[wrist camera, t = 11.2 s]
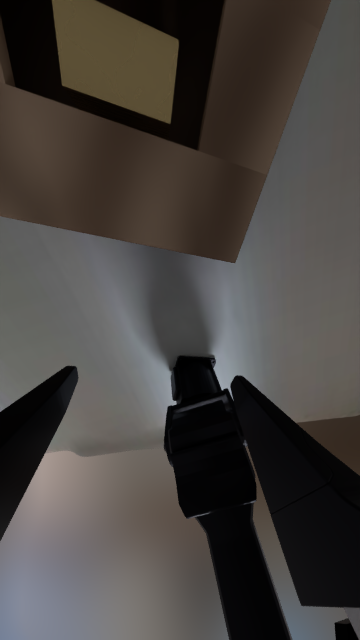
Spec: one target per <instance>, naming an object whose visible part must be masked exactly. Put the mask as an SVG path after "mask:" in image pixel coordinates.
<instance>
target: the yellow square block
mask: <svg viewBox="0 0 360 640" xmlns="http://www.w3.org/2000/svg"><path fill="white" fill-rule="evenodd" d="M52 5H53V13H54V22H55V30H56V38H57V47H58V55H59V63H60V71H61V80H62V86H63V87H64V89H65V90H66V92H67V93H68V95H69V96H70V97H71V99H72V100H73V102H74V103H75V105H76V106H77V108H78V109H79V110H82V111H85V112H88V113H90V114H93V115H96V116H99V117H102V118H105V119H108V120H111V121H113V122H116V123H119V124H122V125H125V126H128V127H131V128H134V129H136V130H139V131H142V132H145V133H148V134H151V135H154V136H157V137H159V138H162V139H165V140H168V139H169V131H170V123H171V114H172V104H173V95H174V86H175V76H176V67H177V57H178V48H179V40H178V39H176V38H174V37H172V36H170V35H167V34H165V33H163V32H161V31H159V30H157V29H155V28H153V27H151V26H148V25H146V24H144V23H142V22H140V21H138V20H136V19H134V18H131V17H129V16H127V15H125V14H123V13H121V12H119V11H117V10H115V9H112V8H110V7H108V6H106V5H104V4H102V3H100V2H98V1H96V0H52Z"/></svg>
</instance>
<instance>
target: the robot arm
mask: <svg viewBox="0 0 360 640" xmlns="http://www.w3.org/2000/svg"><path fill="white" fill-rule="evenodd" d="M180 359H181V360H180ZM215 364H216V360H215V358H203V357H186V356H180V357H178V358H177V362H176V366H175V367H174V368H173V371H172V375H171V387H172V398H173V400H174V401H176V402H177V405H174V406H172V405H171V406H168V409H167V415H166V425H165V436H164V450H165V451H166V453H167V456H168V460H169V462H170V465H171V466H172V467H173V468H174V473H175V478H176V484H177V493H178V501H179V505H180V507H181V509H182V511H183V513H184V515H185V517H186V518H187V519H189V518H193V517H195V518H196V520H197V521H198V522H199V524H200V525H201V527H202V528H203V530H204V531H205V533H206V535H207V539H208V544H209V548H210V553H211V557H212V562H213V566H214V571H215V575H216V581H217V585H218V589H219V595H220V599H221V604H222V608H223V613H224V618H225V622H226V627H227V632H228V636H229V640H292V637H291V634H290V631H289V628H288V625H287V622H286V619H285V616H284V613H283V610H282V607H281V604H280V601H279V598H278V595H277V592H276V589H275V585H274V582H273V579H272V576H271V573H270V570H269V567H268V564H267V561H266V558H265V555H264V552H263V549H262V546H261V543H260V540H259V537H258V534H257V531H256V528H255V525H254V522H253V504H254V502H256V482H255V473H254V470H253V467H252V465H251V462H250V459H249V456H248V453H247V451H246V448H245V447H246V446H248V449H249V452H250V455H251V458H252V461H253V463H254V466H255V469H256V472H257V475H258V478H259V481H260V484H261V487H262V490H263V493H264V496H265V499H266V502H267V505H268V508H269V511H270V514H271V517H272V520H273V524H274V527H275V529H276V532H277V535H278V538H279V541H280V544H281V548H282V550H283V553H284V556H285V559H286V562H287V565H288V568H289V571H290V574H291V577H292V580H293V583H294V586H295V589H296V592H297V595H298V598H299V601H300V603H301V605H302V606H316V607H343V608H344V610H345V612H346V614H347V616H348V618H347V619H345V620H342V621H338V622H336V623H335V634H336V640H360V476H359V475H358V474H357V473H355V472H354V471H353V470H352V469H350V468H349V467H348V466H347V465H345V464H344V463H343V462H342V461H340V460H339V459H338V458H337V457H335V456H334V455H333V454H331V453H330V452H329V451H328V450H327V449H325V448H324V447H323V446H322V445H321V444H319V443H318V442H317V441H316V440H315V439H313V438H312V437H311V436H310V435H309V434H308V433H307V432H306V431H304V430H303V429H302V428H301V427H300V426H299V425H298V424H296V423H295V422H294V421H293V420H292V419H291V418H290V417H289V416H287V415H286V414H285V413H284V412H283V411H282V410H281V409H279V408H278V407H277V406H276V405H275V404H274V403H273V402H271V401H270V400H269V399H268V398H267V397H266V396H265V395H264V394H262V393H261V392H260V391H259V390H258V389H257V388H256V387H254V386H253V385H252V384H251V383H250V382H249V381H248V380H247V379H245V378H244V377H243V376H238V375H237V376H235V377H234V379H233V381H232V383H231V391H232V396H233V399H232V397H231V395H230V392H229V390H228V388H226V389H224V390H221V387H220V384H219V382H218V379H217V377H216V374H215V371H214V369H213V368H214V366H215ZM77 382H78V372H77V367H76V366H66V367H64V368H63V369H61V370H60V371H59V372H57V373H56V374H54V375H53V376H51V377H50V378H49V379H47V380H46V381H44V382H43V383H41V384H40V385H38V386H37V387H36V388H34V389H33V390H31V391H30V392H28V393H27V394H25V395H24V396H23V397H21V398H20V399H18V400H17V401H15V402H14V403H13V404H11V405H10V406H8V407H7V408H5V409H4V410H2V411H1V412H0V541H1V539H2V537H3V535H4V533H5V531H6V529H7V527H8V525H9V523H10V521H11V519H12V517H13V515H14V513H15V511H16V509H17V507H18V505H19V503H20V501H21V499H22V497H23V495H24V493H25V492H26V490H27V488H28V486H29V484H30V482H31V480H32V478H33V476H34V474H35V472H36V470H37V468H38V466H39V464H40V462H41V460H42V458H43V456H44V454H45V452H46V450H47V448H48V446H49V444H50V442H51V440H52V438H53V436H54V434H55V432H56V431H57V429H58V427H59V425H60V423H61V421H62V419H63V417H64V415H65V413H66V410H67V408H68V405H69V402H70V400H71V397H72V395H73V392H74V389H75V387H76V384H77ZM233 400H234V401H233Z"/></svg>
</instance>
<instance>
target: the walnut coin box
mask: <svg viewBox="0 0 360 640" xmlns="http://www.w3.org/2000/svg"><path fill="white" fill-rule="evenodd" d="M96 1H98V2H100V3H102V4H104V5H106V6H108V7H110V8H112V9H115V10H117V11H119V12H121V13H123V14H125V15H127V16H129V17H131V18H134V19H136V20H138V21H140V22H142V23H144V24H146V25H148V26H151V27H153V28H155V29H157V30H159V31H161V32H163V33H165V34H167V35H170V36H172V37H174V38H176V39H178V40H179V48H178V57H177V67H176V76H175V86H174V95H173V104H172V114H171V123H170V131H169V139H168V140H165V139H162V138H159V137H157V136H154V135H151V134H148V133H145V132H142V131H139V130H136V129H134V128H131V127H128V126H125V125H122V124H119V123H116V122H113V121H111V120H108V119H105V118H102V117H99V116H96V115H93V114H90V113H88V112H85V111H82V110H79V109H78V108H77V106H76V105H75V103H74V102H73V100H72V99H71V97H70V96H69V95H68V93H67V92H66V90H65V89H64V87H63V86H62V80H61V71H60V63H59V55H58V47H57V38H56V30H55V22H54V13H53V5H52V0H0V216H2V217H7V218H12V219H17V220H22V221H27V222H32V223H37V224H42V225H47V226H52V227H57V228H62V229H67V230H72V231H77V232H82V233H87V234H92V235H97V236H102V237H107V238H112V239H117V240H122V241H126V242H131V243H136V244H141V245H146V246H151V247H156V248H161V249H166V250H171V251H176V252H181V253H186V254H191V255H196V256H201V257H206V258H211V259H216V260H221V261H226V262H231V263H235V262H236V259H237V257H238V254H239V251H240V248H241V246H242V243H243V240H244V237H245V235H246V232H247V229H248V226H249V224H250V221H251V218H252V216H253V213H254V210H255V207H256V205H257V202H258V199H259V196H260V194H261V191H262V188H263V185H264V183H265V180H266V177H267V174H268V172H269V169H270V166H271V163H272V161H273V158H274V155H275V152H276V150H277V147H278V144H279V142H280V139H281V136H282V133H283V131H284V128H285V125H286V122H287V120H288V117H289V114H290V111H291V109H292V106H293V103H294V100H295V98H296V95H297V92H298V89H299V87H300V84H301V81H302V78H303V76H304V73H305V70H306V68H307V65H308V62H309V59H310V57H311V54H312V51H313V48H314V46H315V43H316V40H317V37H318V35H319V32H320V29H321V26H322V24H323V21H324V18H325V15H326V13H327V10H328V7H329V4H330V2H331V0H96Z"/></svg>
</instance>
